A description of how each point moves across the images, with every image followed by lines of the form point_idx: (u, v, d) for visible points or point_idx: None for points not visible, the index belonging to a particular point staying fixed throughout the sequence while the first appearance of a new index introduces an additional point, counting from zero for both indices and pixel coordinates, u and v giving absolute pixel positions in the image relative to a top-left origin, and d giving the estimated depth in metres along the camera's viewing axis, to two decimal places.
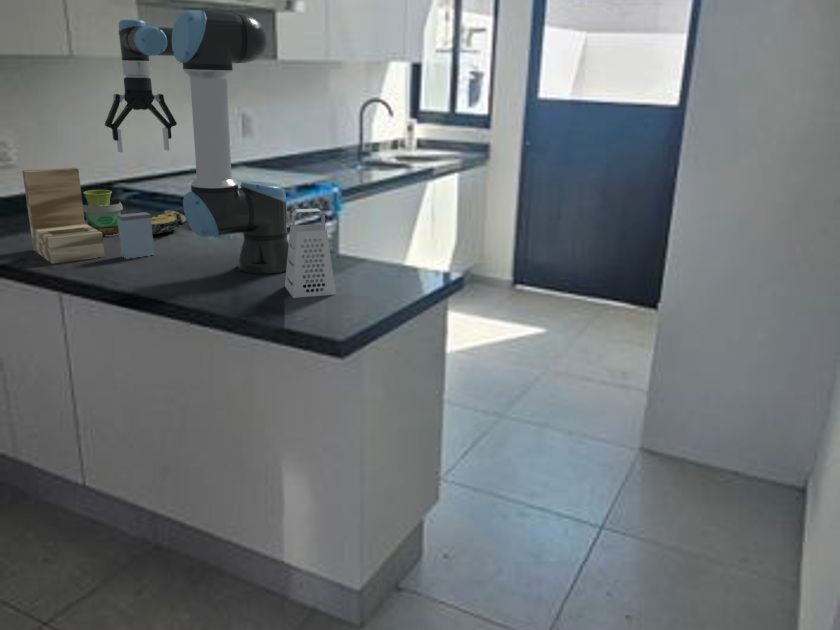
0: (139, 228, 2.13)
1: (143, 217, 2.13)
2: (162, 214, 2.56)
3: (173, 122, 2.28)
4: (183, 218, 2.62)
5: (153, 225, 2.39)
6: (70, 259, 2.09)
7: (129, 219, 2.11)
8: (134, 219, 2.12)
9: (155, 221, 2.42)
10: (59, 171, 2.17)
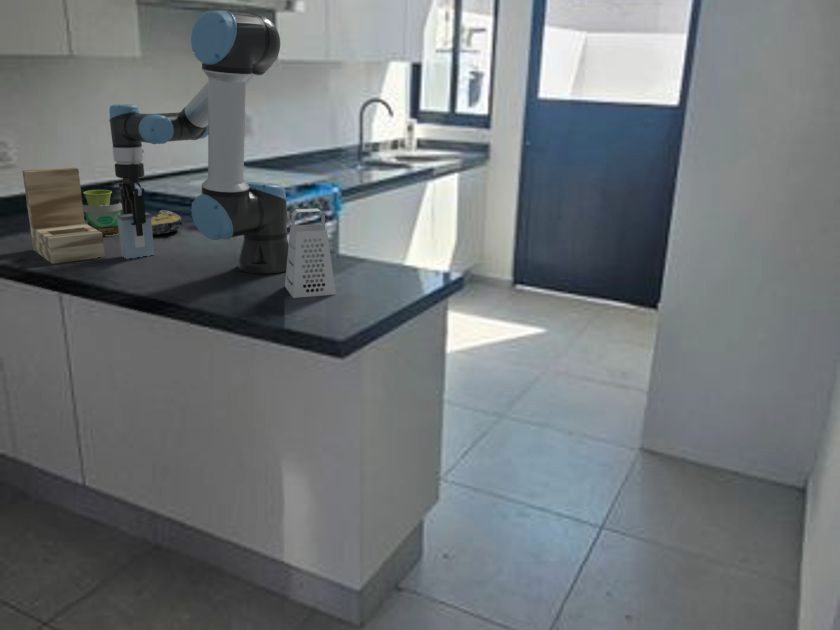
0: None
1: None
2: (160, 214, 2.56)
3: (136, 219, 2.09)
4: (179, 217, 2.63)
5: (161, 225, 2.40)
6: (70, 259, 2.09)
7: (129, 219, 2.11)
8: None
9: (161, 221, 2.43)
10: (59, 171, 2.17)
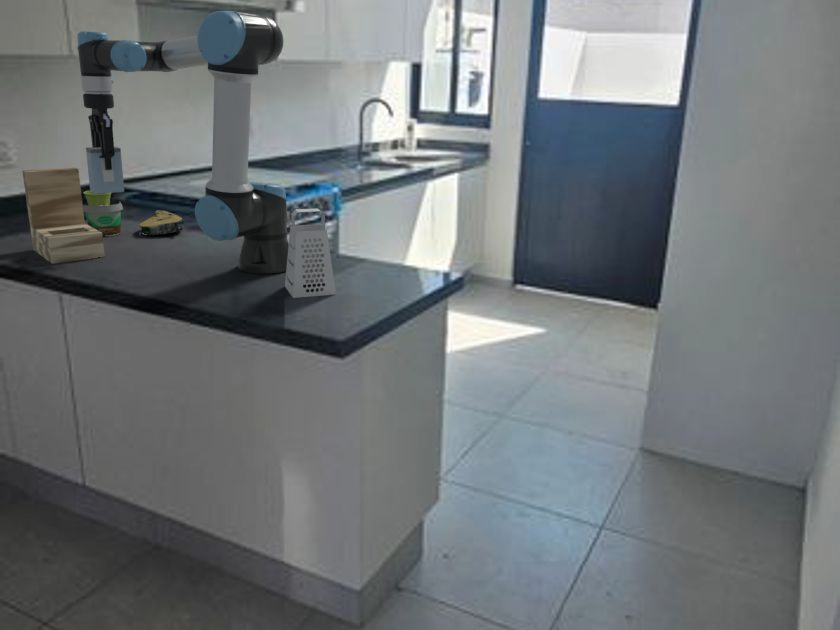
0: None
1: None
2: (159, 214, 2.55)
3: (104, 152, 2.03)
4: None
5: (167, 224, 2.41)
6: (70, 259, 2.09)
7: (98, 152, 2.05)
8: None
9: (166, 220, 2.43)
10: (59, 171, 2.17)
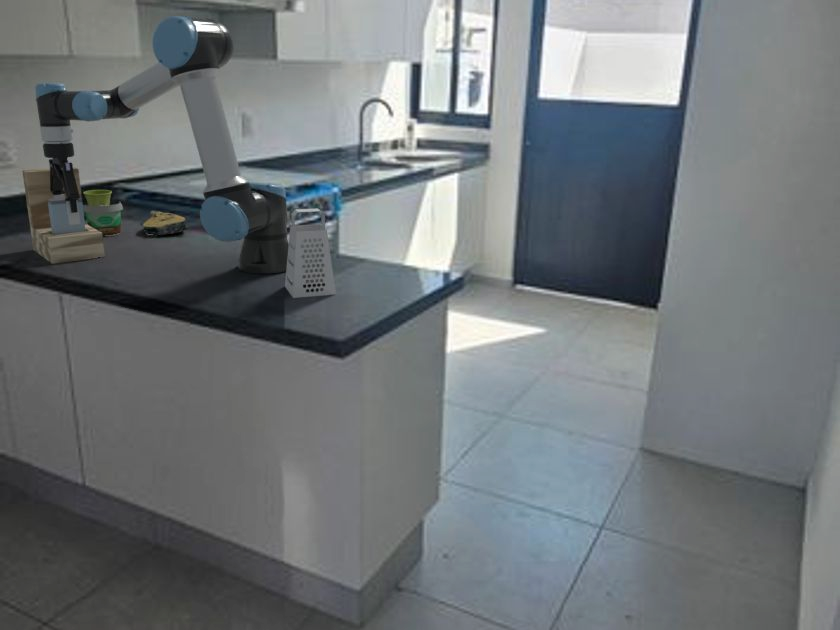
0: None
1: None
2: (157, 214, 2.55)
3: (68, 195, 2.03)
4: None
5: (174, 224, 2.42)
6: (70, 259, 2.09)
7: (59, 203, 2.09)
8: (64, 203, 2.09)
9: (171, 220, 2.44)
10: None
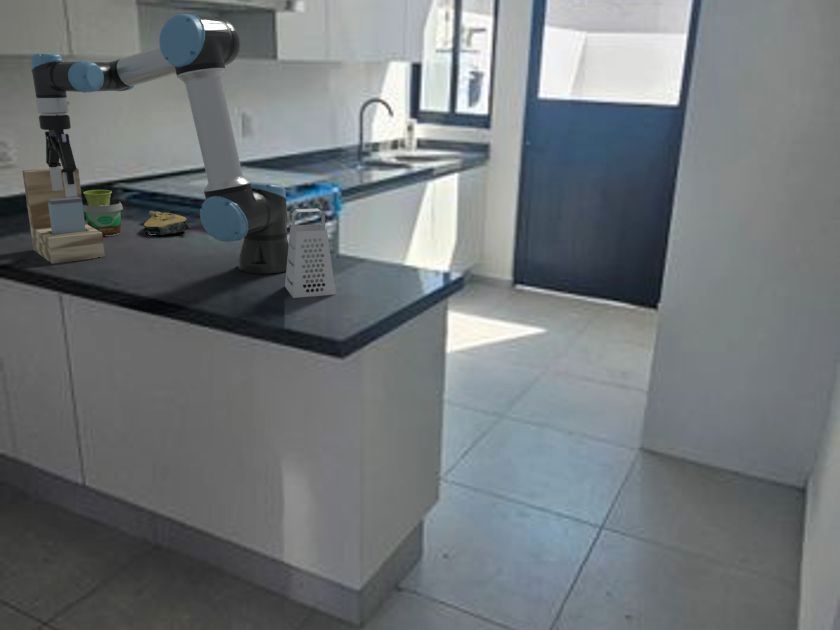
0: (70, 212, 2.11)
1: (74, 201, 2.11)
2: (156, 214, 2.55)
3: (65, 166, 2.00)
4: None
5: (177, 223, 2.42)
6: (70, 259, 2.09)
7: (59, 203, 2.09)
8: (64, 203, 2.09)
9: (173, 220, 2.45)
10: None
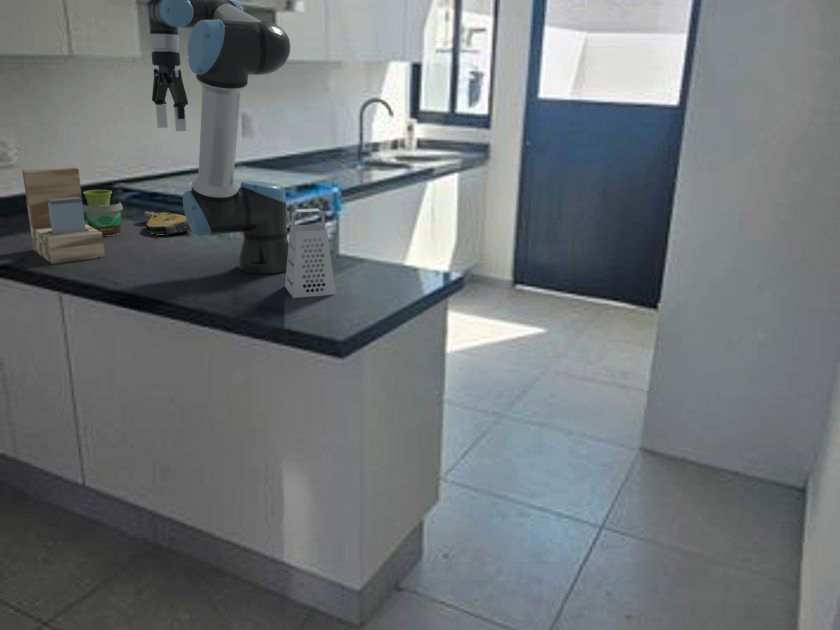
0: (70, 212, 2.11)
1: (74, 201, 2.11)
2: (154, 214, 2.55)
3: (177, 101, 2.07)
4: None
5: (183, 223, 2.44)
6: (70, 259, 2.09)
7: (59, 203, 2.09)
8: (64, 203, 2.09)
9: (177, 219, 2.46)
10: (59, 171, 2.17)
